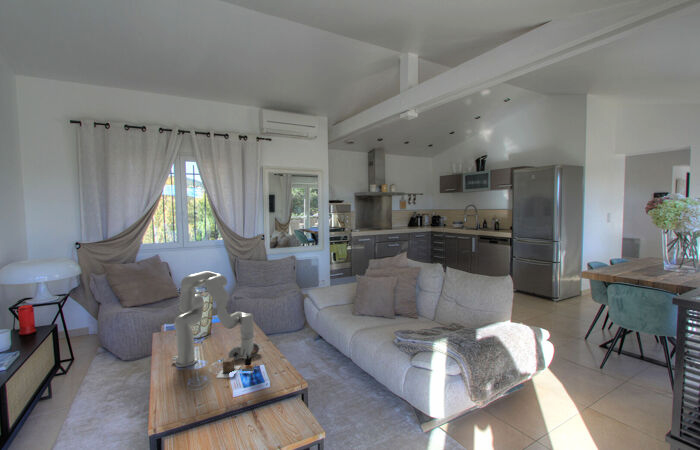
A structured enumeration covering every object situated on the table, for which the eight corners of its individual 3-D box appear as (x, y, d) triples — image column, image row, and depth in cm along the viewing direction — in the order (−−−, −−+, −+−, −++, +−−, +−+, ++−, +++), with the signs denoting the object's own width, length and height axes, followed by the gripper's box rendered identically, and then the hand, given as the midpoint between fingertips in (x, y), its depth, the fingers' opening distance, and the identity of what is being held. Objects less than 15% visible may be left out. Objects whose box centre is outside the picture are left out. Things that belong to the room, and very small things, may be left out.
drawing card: (215, 378, 191) (215, 377, 191) (225, 366, 205) (225, 365, 205) (233, 377, 191) (233, 377, 191) (241, 366, 205) (241, 365, 205)
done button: (244, 371, 195) (243, 367, 195) (246, 367, 200) (246, 364, 200) (251, 371, 195) (251, 367, 195) (253, 367, 200) (253, 364, 200)
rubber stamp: (223, 373, 195) (222, 361, 195) (226, 369, 200) (225, 357, 200) (231, 373, 195) (231, 361, 195) (234, 369, 200) (234, 357, 200)
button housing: (241, 374, 195) (241, 368, 194) (245, 368, 201) (245, 363, 201) (252, 374, 195) (252, 368, 194) (255, 368, 201) (255, 363, 201)
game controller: (229, 362, 210) (228, 349, 210) (228, 361, 212) (227, 348, 212) (259, 354, 221) (259, 342, 221) (258, 353, 223) (257, 341, 223)
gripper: (245, 330, 204) (245, 359, 205) (236, 339, 189) (237, 371, 190) (257, 330, 204) (257, 359, 205) (249, 339, 189) (250, 371, 190)
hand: (248, 364), depth 198 cm, fingers closed
